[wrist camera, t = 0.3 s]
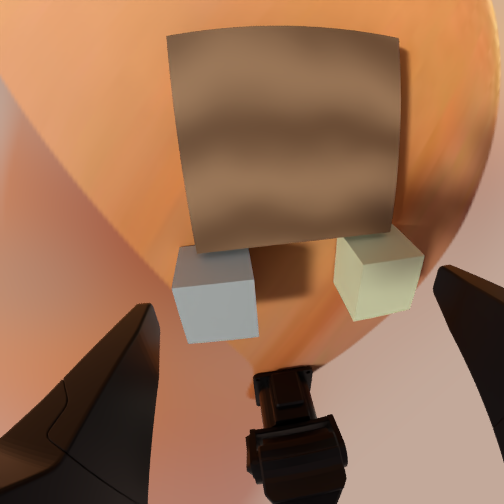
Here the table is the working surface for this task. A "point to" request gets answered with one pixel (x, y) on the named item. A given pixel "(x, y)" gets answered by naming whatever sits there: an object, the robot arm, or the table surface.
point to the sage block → (377, 273)
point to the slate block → (215, 295)
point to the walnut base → (286, 133)
